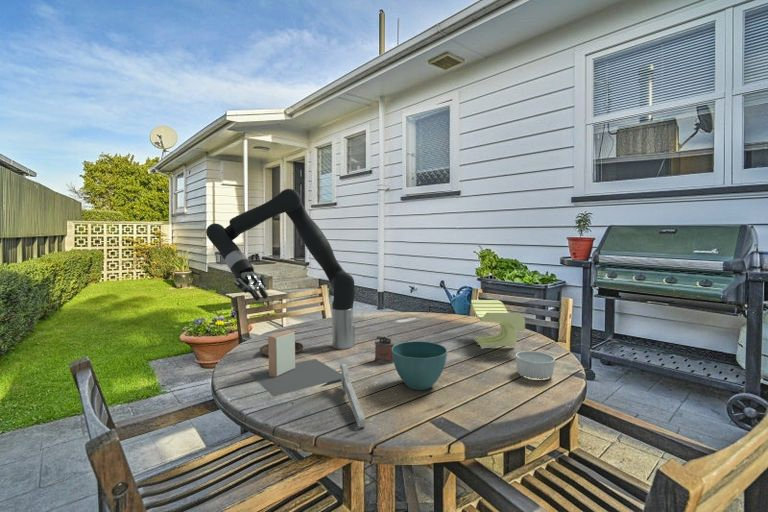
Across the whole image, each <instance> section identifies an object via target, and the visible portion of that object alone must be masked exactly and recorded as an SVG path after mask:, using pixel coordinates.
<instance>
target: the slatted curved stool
mask: <svg viewBox="0 0 768 512" xmlns="http://www.w3.org/2000/svg"><path fill="white" fill-rule="evenodd" d="M470 305H471V307H472V310H473V313H474V315H475V317H477V319H479V321H480V322H487V323H497V324H499V326H500V330H499V332H498V334H495V335H491V336H475V337H474V341H475V340H476V341H477V342H478V344H479V345H480V346H481V347H487V346H512V345H515V346H516V345H517V342H518V333H519V332H525V331H526V319H525V317H524V315H523V314H521V313H519V312H509V311H508V310H507V307H506V306H505V304H504V303H503V302H502V301H500V300H497V299H471V304H470ZM478 344H477V345H478Z"/></svg>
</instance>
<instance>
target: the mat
mask: <svg viewBox="0 0 768 512" xmlns="http://www.w3.org/2000/svg"><path fill="white" fill-rule="evenodd" d="M248 374H249V375H250V376H251V377H252V378H253V379H255V381H256V382H257V383H259V385H261V386H262V387H263V388H264V389H265V390H266V391H267V392H268V393H269V394H270V395H271V396H273V397H276V396H281V395H285V394H288V393H292V392H296V391H300V390H304V389H307V388H308V389H309V388H312V387H315V386H318V385H321V386H320V388H322V387H326V386H329V385H333V384H338V383H342V381H341V379H342V372H340V371H337V370H336V369H334V368H332V367H330V366H328V365H327V364H325V363H323V362H322V361H320V360H318V359H317V358H314V359H308V360H303V361H299V362H295V369H293V370H290V371H288V372H286V373H284V374H282V375H279V376H277V377H272V376H269V368H266V369H261V370H258V371H252V372H248ZM322 384H323V385H322Z"/></svg>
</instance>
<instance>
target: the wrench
mask: <svg viewBox="0 0 768 512" xmlns="http://www.w3.org/2000/svg"><path fill="white" fill-rule="evenodd" d="M339 370H341V374H342V379H341V381H342V382H341V384H342V393H345V394H346V396H347V399H348V402H349V405H350V407H351V410H352V413H353V416H354V419H355V422H356V425H357V424H358V425H357V427H358V426H359V427H358V429H360V428H365V427H366V425H367V424H366V417H365V414H364V411H363V409H362V406H361V404H360V402H359V399H358V396H357V395H356V392H355V389H354V387H353V384H352V381H351V378H350V372H349V368H348V364H347V363H341V364H340V365H339Z"/></svg>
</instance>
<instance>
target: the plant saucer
mask: <svg viewBox="0 0 768 512" xmlns="http://www.w3.org/2000/svg"><path fill="white" fill-rule="evenodd" d="M303 348H304V344H302V343H301V342H297V341H295V356H296V355H299V354H300V353H301V352H302V350H303ZM259 352H260V354H261V355H263V356H264V357H267V358H269V349H268V343H267V344H264V345H262V346H261V347H260V348H259Z"/></svg>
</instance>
